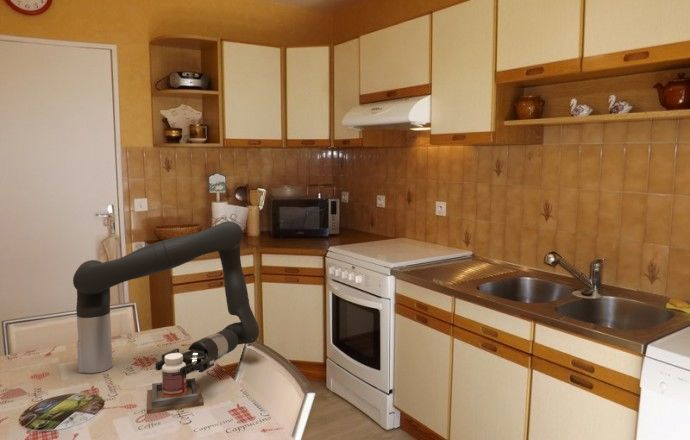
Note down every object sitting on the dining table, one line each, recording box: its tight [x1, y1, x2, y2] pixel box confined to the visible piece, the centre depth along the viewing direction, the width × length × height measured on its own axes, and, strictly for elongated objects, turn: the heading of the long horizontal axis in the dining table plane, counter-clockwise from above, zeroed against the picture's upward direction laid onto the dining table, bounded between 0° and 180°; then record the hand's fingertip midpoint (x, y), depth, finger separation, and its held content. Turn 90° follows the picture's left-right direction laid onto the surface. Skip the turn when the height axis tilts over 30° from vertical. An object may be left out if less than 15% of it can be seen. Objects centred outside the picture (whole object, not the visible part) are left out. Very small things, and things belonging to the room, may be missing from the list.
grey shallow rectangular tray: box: [146, 377, 205, 415], centre depth 140 cm, size 14×12×3 cm
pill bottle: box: [161, 353, 187, 398], centre depth 140 cm, size 6×6×11 cm
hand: (168, 369), depth 138 cm, fingers open, 8 cm apart
